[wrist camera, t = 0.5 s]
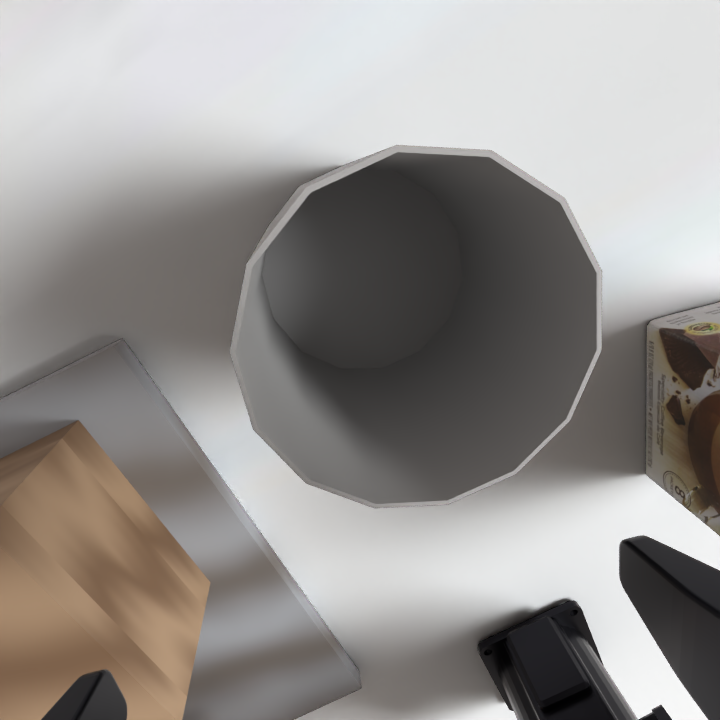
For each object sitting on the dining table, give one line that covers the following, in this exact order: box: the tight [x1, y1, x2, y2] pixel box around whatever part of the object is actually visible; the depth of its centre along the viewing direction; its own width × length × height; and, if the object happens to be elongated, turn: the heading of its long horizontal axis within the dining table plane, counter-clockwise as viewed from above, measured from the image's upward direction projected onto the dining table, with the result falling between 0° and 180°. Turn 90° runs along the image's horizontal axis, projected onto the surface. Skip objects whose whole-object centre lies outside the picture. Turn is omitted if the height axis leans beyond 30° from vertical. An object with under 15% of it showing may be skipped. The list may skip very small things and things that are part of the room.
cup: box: [230, 145, 602, 508], centre depth 15 cm, size 8×8×10 cm
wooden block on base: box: [0, 338, 361, 720], centre depth 20 cm, size 23×16×8 cm
